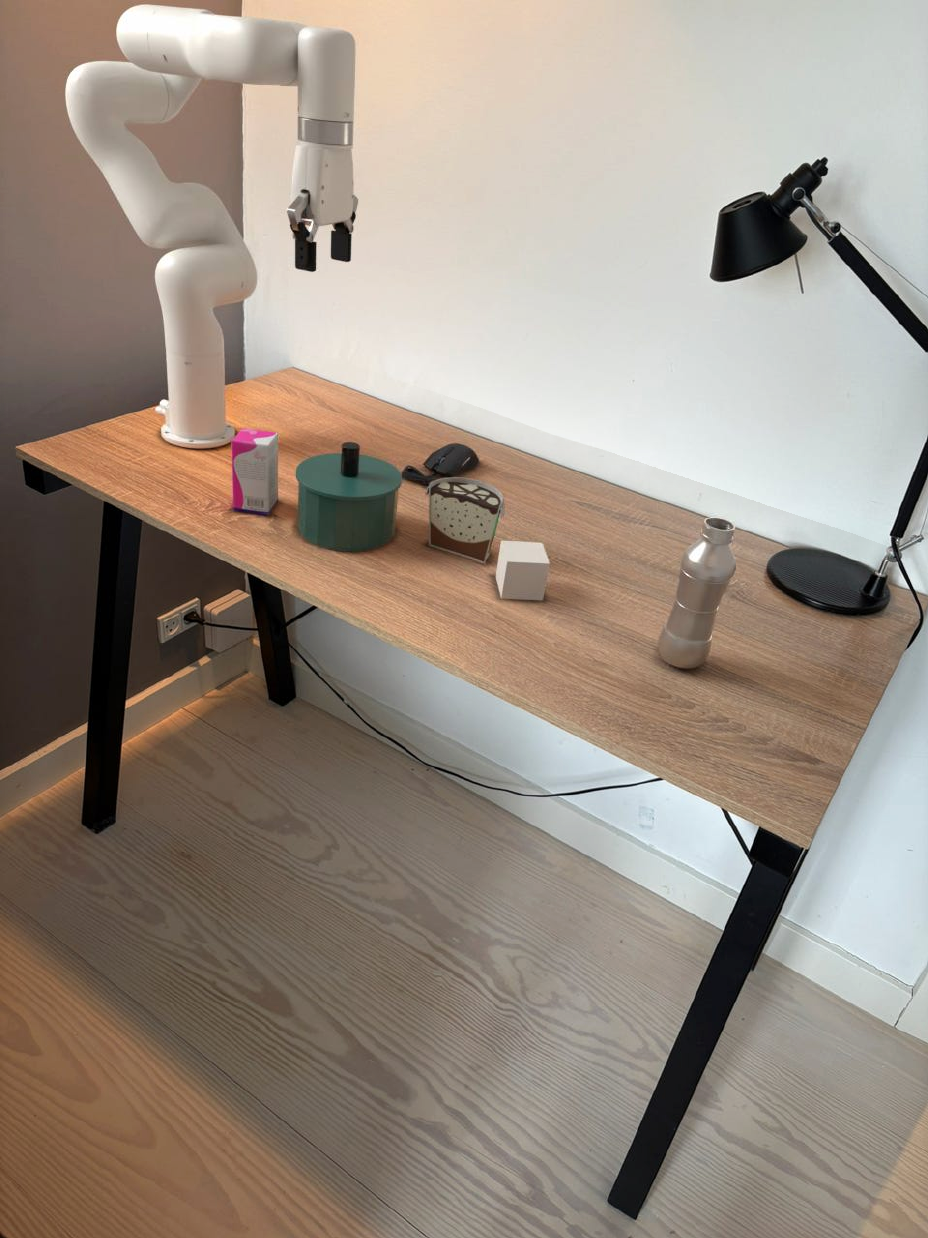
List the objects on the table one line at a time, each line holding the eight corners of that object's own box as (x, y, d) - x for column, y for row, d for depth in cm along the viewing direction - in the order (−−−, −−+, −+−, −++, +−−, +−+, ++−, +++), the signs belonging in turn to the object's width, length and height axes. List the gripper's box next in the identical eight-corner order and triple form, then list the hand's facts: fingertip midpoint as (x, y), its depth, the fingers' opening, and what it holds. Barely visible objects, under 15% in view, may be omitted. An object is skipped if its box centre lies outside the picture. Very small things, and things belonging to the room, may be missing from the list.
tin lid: (273, 482, 135) (273, 445, 132) (336, 451, 147) (337, 417, 144) (363, 514, 130) (365, 477, 127) (420, 480, 142) (424, 444, 139)
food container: (510, 550, 143) (519, 490, 138) (494, 566, 138) (503, 505, 133) (438, 527, 147) (444, 468, 141) (420, 542, 142) (426, 482, 136)
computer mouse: (512, 475, 167) (515, 454, 165) (451, 501, 155) (453, 479, 153) (458, 453, 173) (461, 432, 171) (396, 477, 161) (397, 455, 159)
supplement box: (279, 500, 148) (279, 431, 142) (268, 516, 143) (269, 446, 137) (243, 495, 148) (242, 426, 142) (231, 510, 143) (230, 440, 137)
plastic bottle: (648, 645, 125) (684, 510, 114) (697, 647, 126) (737, 513, 115) (661, 674, 119) (700, 534, 109) (711, 676, 120) (755, 538, 110)
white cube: (495, 577, 136) (500, 540, 132) (535, 579, 136) (542, 542, 133) (501, 598, 131) (507, 561, 127) (542, 600, 131) (549, 563, 128)
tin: (277, 530, 140) (278, 478, 135) (335, 498, 151) (337, 449, 147) (359, 561, 135) (362, 508, 130) (412, 526, 146) (417, 476, 142)
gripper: (334, 128, 136) (331, 252, 145) (266, 132, 122) (268, 269, 131) (379, 135, 134) (374, 261, 143) (315, 140, 120) (314, 278, 129)
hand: (323, 264), depth 137 cm, fingers open, 9 cm apart
